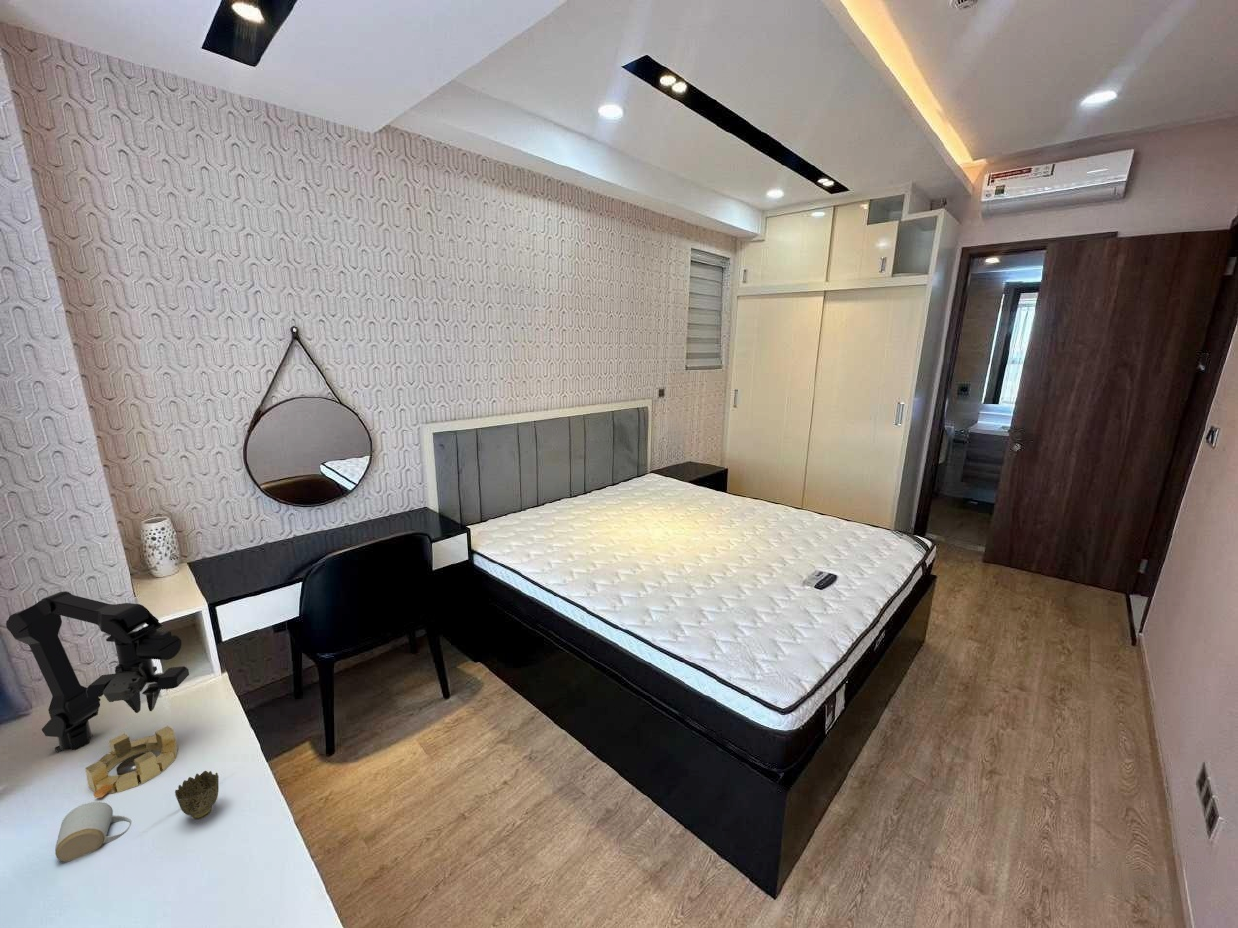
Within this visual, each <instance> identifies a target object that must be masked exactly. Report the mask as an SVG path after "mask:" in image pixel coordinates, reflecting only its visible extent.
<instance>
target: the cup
mask: <svg viewBox="0 0 1238 928" xmlns="http://www.w3.org/2000/svg"><path fill="white" fill-rule="evenodd" d="M219 778H220V777H219V773H218V772H216V773H215V774H214V773H213V772H212V770H210V771H209V772H208V770H204V771H203V772H202V773H200V775H199V773H196V774H195V775H194V777H191V776H189V777H188V778H187V780H185V779H183V782H182V785H181V784H179V785H178V786H177V787H178V789H175V791H174V795H175V798H176V800H177V803H178V805H179V807H180V809H181V811H182V813H183V814H185V815H187V816H190V817H191V818H192V819H194V820H201V819H203V818H205V817H207V816H208V815H210V813H211V812H212V811H213V810H212V809H213V806H214V805H215V804H216V802H217V800H218V797H219V790H220V789H219V787H220V786H219V782H220V781H219Z"/></svg>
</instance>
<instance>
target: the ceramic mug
mask: <svg viewBox="0 0 1238 928" xmlns="http://www.w3.org/2000/svg"><path fill="white" fill-rule="evenodd" d="M61 821H62V822H61V825H60V828H59V833H58V835H57V836H58V837H57V840H56V844H55V850H54V851H55V852H54V854H55V857H56V858H57V860H59V861H61V862H63V863H68V862H71V861H73V860H76V859H78V858H81V857H83V856H86V855H89V854H91V853H94V852H96V851H98V850H99V849H100V848H101V847H102V845H103V844H107V843H111V842H113V841H115V840H116V839H118V838H120V837H121V836H123V835H125V834H126V833H127V832H128V831H129V829H130V827H131V826H132V820H131V819H130V818H129V817H128V816H125V815H124V816H123V815H114V810H113V807H112V806H111V805H110V804H108V803H107V802H102V801H91V802H90V801H89V802H87V803H83V804H81V805H78V806H77V807H75V808H73V809H72V810H70V811H69V812H68V813H66V815H65V816H64V818H63V820H61ZM119 822H127V823H129V826H128V827H127V828H126V829H125V830H124V831H122V832H121V833H118V834H114V835H108V833H109V832H108V831H109V828H110V826H111V825H110V824H114V823H119ZM107 835H108V836H107Z"/></svg>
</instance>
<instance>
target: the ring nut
mask: <svg viewBox="0 0 1238 928" xmlns="http://www.w3.org/2000/svg"><path fill="white" fill-rule="evenodd" d="M154 733H155V735H152V736H149V735H148V736H145V737H142V738H139V739H135V740H131V738H130V735H128V734H127V733H124V732H123V733H122V734H120V735H118V736H116V737H114V738H111V739H110V740H108V744H109V750H110V751H109V752H108V753H106V754H105V755H103V756H102V757H101V758H100V759H99V760H97V761H96V762H94V763H92V764H91V765H89V766H86V767H85V768H84V770H85V773H86V781H87V785H88V788H89V789H90V790H91V791H93V792H94V793H93V798H98V799H99V798H103V797H104V796H105V795H107V794H115V793H116V792H117V793H120V792H123V791H126V790H130V789H132V788H136V787H138V786H140V785H139V784H141V785H143V784H144V783H146V782H148V781H150V780H151V779H153V778H155V777H157V776H159V775H160V774H161V772H164V771H165V770H167V768H168V767H169V766H170V765H172V763H174V761H175V759H176V758H177V755H178V751H179V747H178V741H177V740H176V736H175V730H174V729H173V728H172V727H171V726H168V725H167V726H164V727H162V728H160V729H159V730H157V731H155V732H154ZM157 751H158V752H160V754H159V755H158V756H156V754H155V753H153V752H157ZM140 753H146V754H144V755H142V756H140V757H138V758H136V759H134V762H135V767H136V771H133V772H130V773H126V774H123V775H116V774H115V775H109V771H111V770H112V769H113V768H114V767H116V766H118V765H119V764H120V763H122V762H123V761H124V760H126V759H128V758H129V757H132V756H134V755H137V754H140Z"/></svg>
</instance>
